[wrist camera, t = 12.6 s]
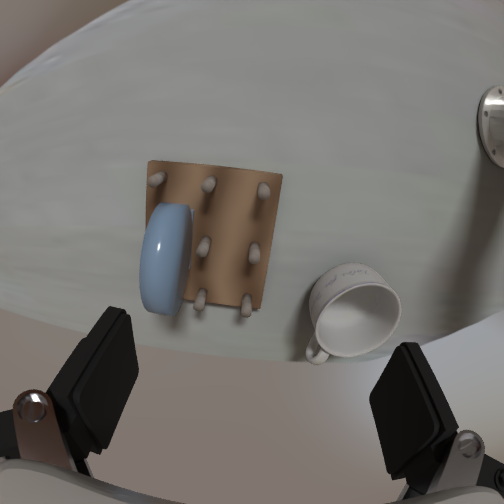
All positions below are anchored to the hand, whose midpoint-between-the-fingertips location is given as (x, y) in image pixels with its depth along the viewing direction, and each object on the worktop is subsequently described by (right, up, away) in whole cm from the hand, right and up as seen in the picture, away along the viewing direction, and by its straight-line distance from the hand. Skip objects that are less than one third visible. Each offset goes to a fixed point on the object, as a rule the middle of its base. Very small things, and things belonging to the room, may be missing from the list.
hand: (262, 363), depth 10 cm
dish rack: (-6, +6, +26) cm, 27 cm away
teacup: (+11, -2, +30) cm, 32 cm away
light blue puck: (-8, +6, +25) cm, 27 cm away
